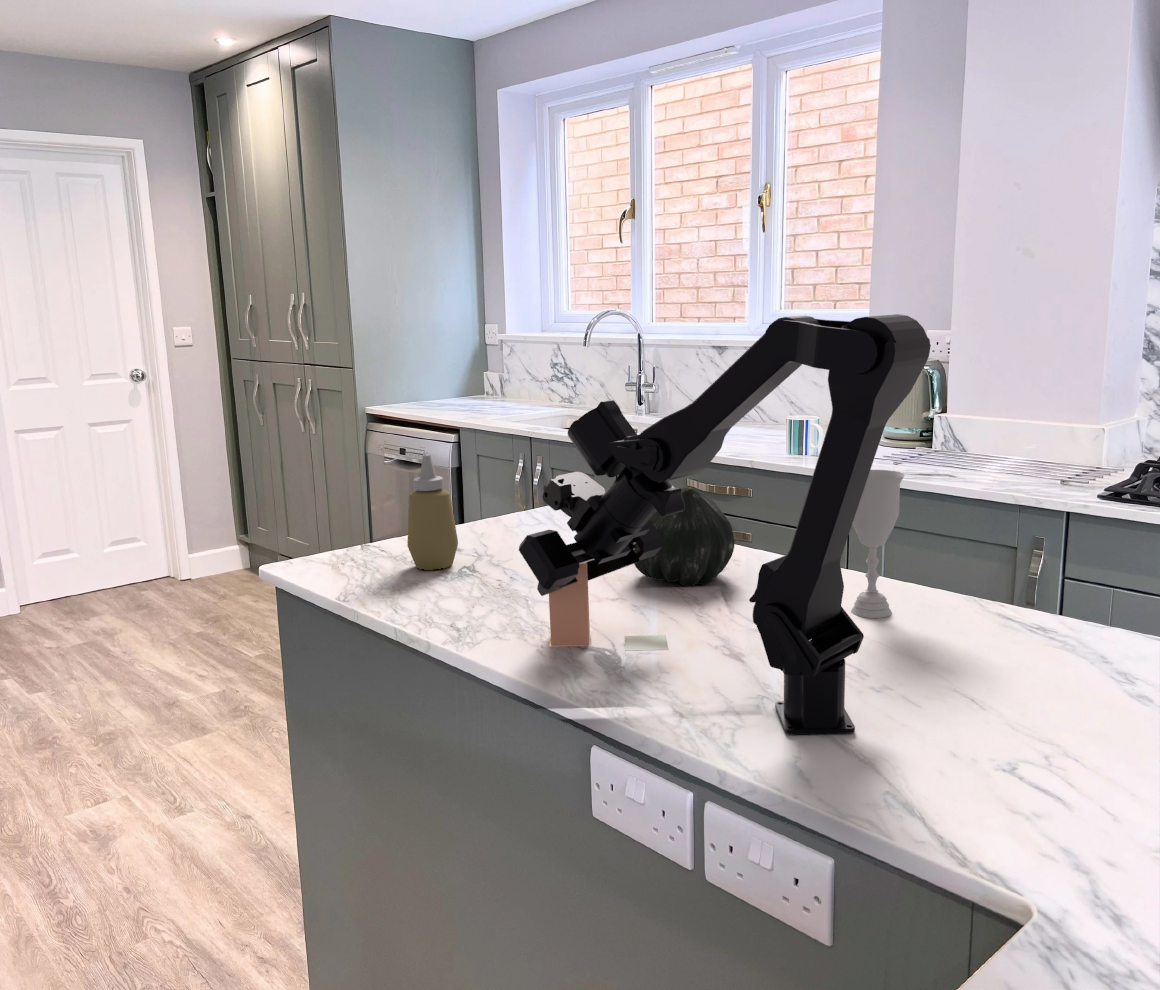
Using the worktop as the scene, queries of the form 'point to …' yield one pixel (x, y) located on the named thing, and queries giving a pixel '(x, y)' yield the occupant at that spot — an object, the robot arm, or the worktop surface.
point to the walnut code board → (637, 642)
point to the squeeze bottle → (431, 521)
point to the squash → (690, 542)
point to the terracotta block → (571, 612)
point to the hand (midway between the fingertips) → (560, 585)
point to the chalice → (876, 534)
